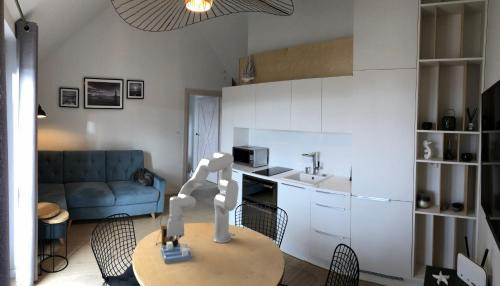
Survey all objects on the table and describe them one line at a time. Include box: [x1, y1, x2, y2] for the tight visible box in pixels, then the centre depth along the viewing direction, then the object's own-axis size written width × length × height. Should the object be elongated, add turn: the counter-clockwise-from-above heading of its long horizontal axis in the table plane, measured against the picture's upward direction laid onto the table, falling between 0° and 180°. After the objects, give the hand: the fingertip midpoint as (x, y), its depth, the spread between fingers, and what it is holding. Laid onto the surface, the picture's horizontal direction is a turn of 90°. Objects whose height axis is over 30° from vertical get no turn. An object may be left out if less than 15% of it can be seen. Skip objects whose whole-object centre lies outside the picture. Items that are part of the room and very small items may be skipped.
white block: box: [167, 241, 173, 250], centre depth 198 cm, size 3×4×4 cm
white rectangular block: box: [179, 243, 186, 252], centre depth 195 cm, size 3×4×4 cm
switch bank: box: [160, 243, 194, 264], centre depth 194 cm, size 16×18×3 cm
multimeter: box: [155, 214, 181, 246], centre depth 211 cm, size 15×10×20 cm
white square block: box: [182, 247, 188, 256], centre depth 190 cm, size 3×4×4 cm
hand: (175, 246), depth 199 cm, fingers closed
